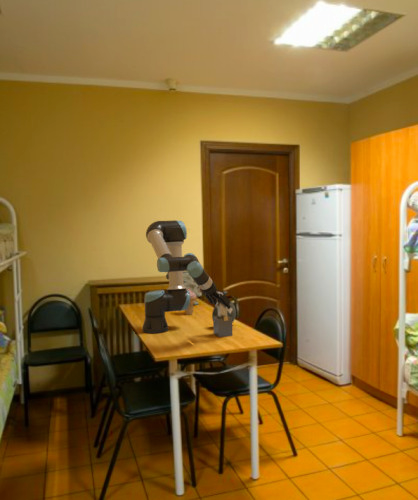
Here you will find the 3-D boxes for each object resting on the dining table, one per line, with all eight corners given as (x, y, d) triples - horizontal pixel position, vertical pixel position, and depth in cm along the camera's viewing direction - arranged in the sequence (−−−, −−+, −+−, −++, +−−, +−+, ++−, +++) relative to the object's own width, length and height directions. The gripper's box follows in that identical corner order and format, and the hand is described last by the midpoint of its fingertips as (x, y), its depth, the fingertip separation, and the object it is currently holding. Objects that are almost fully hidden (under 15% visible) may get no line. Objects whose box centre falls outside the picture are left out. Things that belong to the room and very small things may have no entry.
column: (220, 335, 243) (220, 299, 242) (218, 334, 247) (217, 298, 246) (227, 335, 245) (227, 298, 243) (225, 333, 248) (224, 297, 247)
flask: (207, 328, 267) (206, 291, 266) (232, 324, 274) (231, 289, 273) (216, 332, 257) (215, 294, 255) (241, 328, 264) (241, 291, 263)
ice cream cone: (179, 315, 305) (178, 286, 304) (183, 312, 316) (183, 284, 315) (194, 316, 303) (193, 286, 302) (198, 312, 313) (198, 284, 312)
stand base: (214, 341, 236) (213, 319, 235) (204, 334, 251) (204, 313, 250) (242, 338, 241) (241, 316, 240) (230, 332, 256) (230, 311, 255)
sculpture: (203, 305, 336) (195, 266, 334) (172, 312, 337) (163, 273, 335) (205, 300, 355) (197, 264, 354) (175, 307, 357) (166, 270, 355)
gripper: (190, 289, 239) (210, 314, 252) (217, 292, 227) (237, 318, 240) (196, 278, 242) (216, 303, 256) (223, 280, 230) (242, 307, 244)
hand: (226, 310), depth 248 cm, fingers closed on column, 5 cm apart
